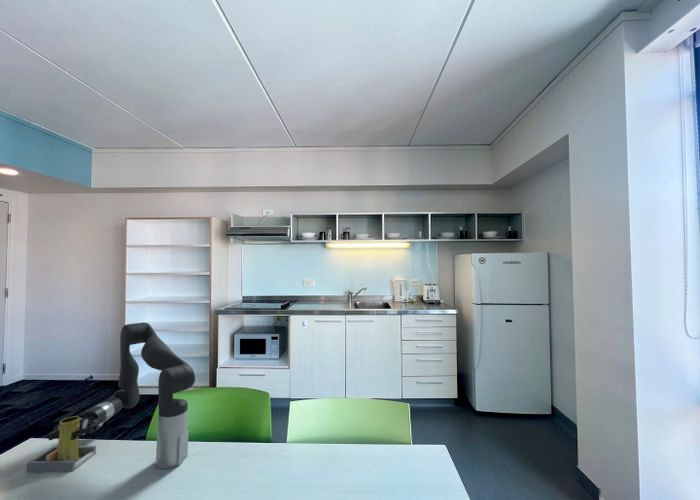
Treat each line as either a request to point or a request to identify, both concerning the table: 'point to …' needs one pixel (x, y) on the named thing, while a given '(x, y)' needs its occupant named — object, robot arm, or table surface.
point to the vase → (68, 440)
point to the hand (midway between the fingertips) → (61, 437)
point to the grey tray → (60, 466)
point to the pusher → (52, 456)
